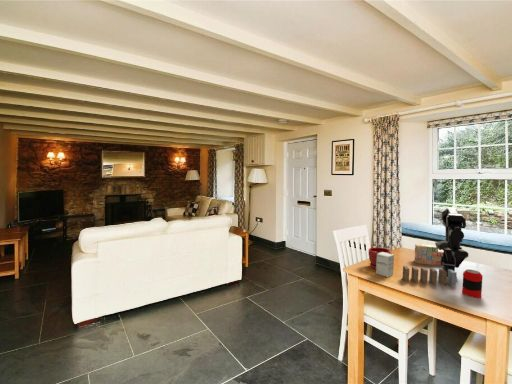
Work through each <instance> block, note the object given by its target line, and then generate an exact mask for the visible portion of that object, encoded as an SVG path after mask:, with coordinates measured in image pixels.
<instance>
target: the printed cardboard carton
mask: <svg viewBox="0 0 512 384" xmlns="http://www.w3.org/2000/svg"><path fill="white" fill-rule="evenodd" d="M414 244H415V245H414V262H415V263H416V264H421V265H422V264H424V265H432V266H442V267H443V265H441V264H440V260H441V255H442V254H443V252H444V251H443V250H439V249H437V247H436V244H434V245H433V244H425V243H424V244H423V243H414ZM442 263H443V262H442Z"/></svg>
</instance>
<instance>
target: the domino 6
mask: <svg viewBox="0 0 512 384" xmlns="http://www.w3.org/2000/svg"><path fill="white" fill-rule="evenodd" d="M456 277H458V276H457V272H456V270H455V271H453V270H450V269H448V277H447V279H446V283H448V284H449V286H451V287H457V278H456Z"/></svg>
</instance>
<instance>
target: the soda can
mask: <svg viewBox="0 0 512 384" xmlns="http://www.w3.org/2000/svg"><path fill="white" fill-rule="evenodd" d="M462 274H463V275H462V288H461V292H462V294H463V295H465V296H467V297H470V298H476V299H477V298H478V299H479V298H481V297H482V291H483V290H482V289H483V274H482V273H481V272H480V271H478V270H476V269H465V270H463V273H462Z"/></svg>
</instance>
